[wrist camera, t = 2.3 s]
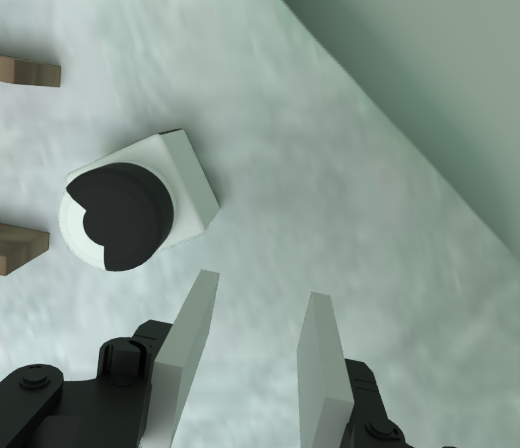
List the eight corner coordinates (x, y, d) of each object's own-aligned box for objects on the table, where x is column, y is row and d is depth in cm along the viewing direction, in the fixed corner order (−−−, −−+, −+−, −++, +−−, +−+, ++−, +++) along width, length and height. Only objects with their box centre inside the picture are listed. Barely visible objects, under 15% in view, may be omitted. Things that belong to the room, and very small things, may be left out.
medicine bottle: (183, 126, 35) (132, 138, 23) (221, 209, 36) (191, 258, 25) (104, 162, 36) (17, 190, 24) (144, 240, 37) (80, 302, 26)
